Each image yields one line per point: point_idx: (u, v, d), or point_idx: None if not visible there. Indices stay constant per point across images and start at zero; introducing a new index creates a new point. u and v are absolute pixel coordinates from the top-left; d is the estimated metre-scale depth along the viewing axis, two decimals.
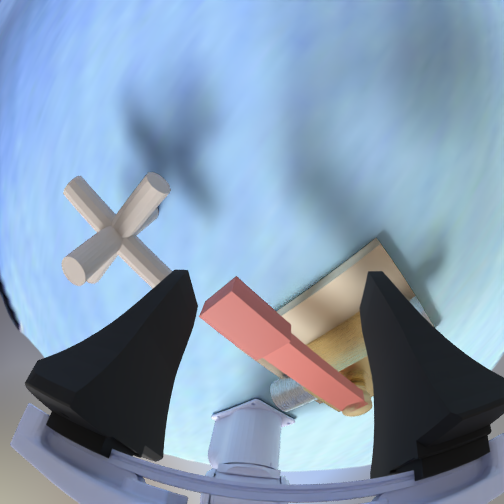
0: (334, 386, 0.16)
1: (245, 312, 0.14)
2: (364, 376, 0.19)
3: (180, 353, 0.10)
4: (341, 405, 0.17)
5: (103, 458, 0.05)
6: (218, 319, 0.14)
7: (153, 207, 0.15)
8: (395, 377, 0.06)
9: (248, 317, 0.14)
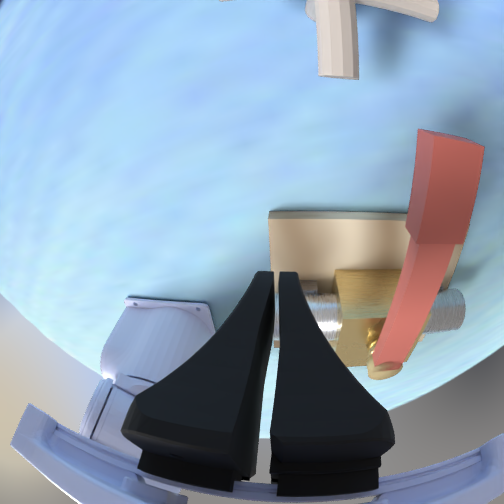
0: (413, 328, 0.12)
1: (472, 177, 0.08)
2: None
3: (267, 360, 0.09)
4: (384, 358, 0.14)
5: (103, 458, 0.05)
6: (447, 159, 0.07)
7: (413, 12, 0.06)
8: None
9: (468, 185, 0.08)
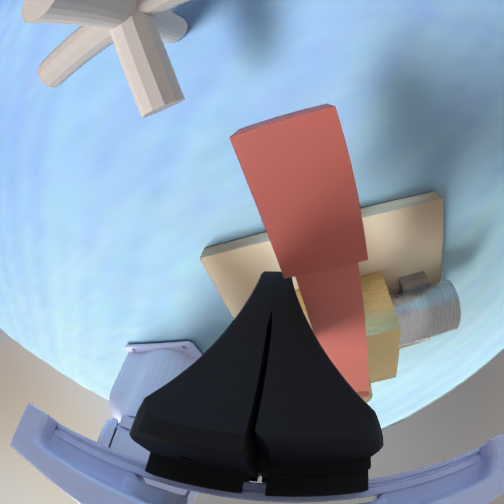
0: (356, 361, 0.11)
1: (333, 164, 0.06)
2: (369, 357, 0.14)
3: None
4: None
5: (103, 458, 0.05)
6: (268, 158, 0.06)
7: None
8: None
9: (332, 177, 0.06)
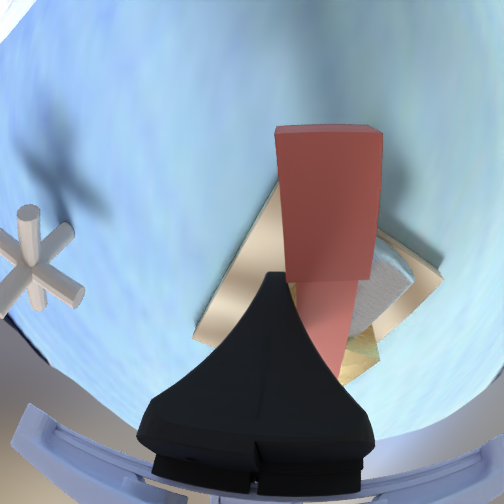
0: None
1: (365, 185, 0.06)
2: None
3: None
4: None
5: (103, 458, 0.05)
6: (307, 164, 0.06)
7: (32, 234, 0.13)
8: None
9: (360, 197, 0.06)
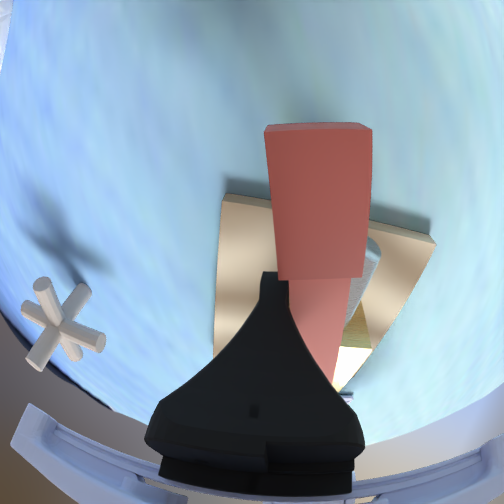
0: (324, 370, 0.11)
1: (355, 182, 0.06)
2: None
3: None
4: None
5: (103, 458, 0.05)
6: (296, 161, 0.06)
7: (50, 300, 0.17)
8: None
9: (350, 194, 0.07)
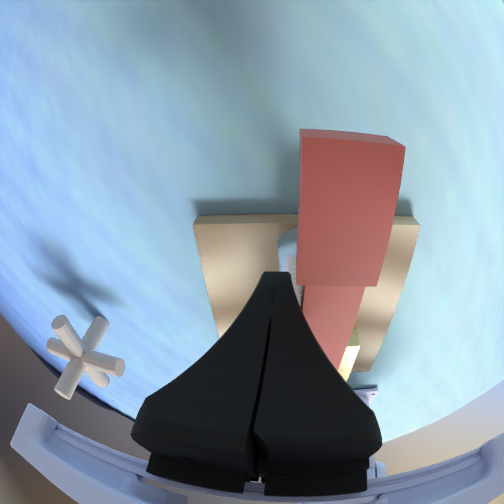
0: None
1: (383, 195, 0.06)
2: None
3: None
4: None
5: (103, 458, 0.05)
6: (331, 170, 0.06)
7: (68, 335, 0.19)
8: None
9: (377, 206, 0.07)
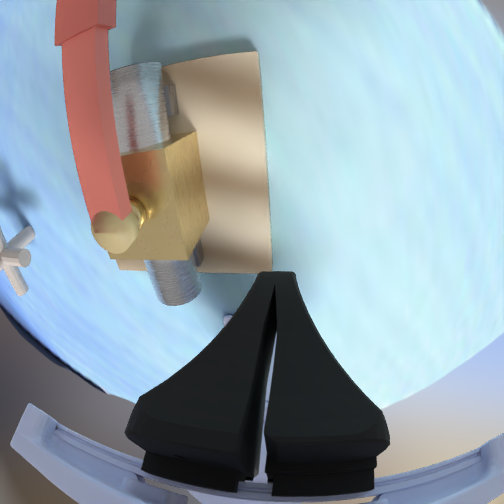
0: (96, 147, 0.10)
1: None
2: None
3: (270, 361, 0.09)
4: (92, 204, 0.11)
5: (103, 458, 0.05)
6: None
7: None
8: None
9: None
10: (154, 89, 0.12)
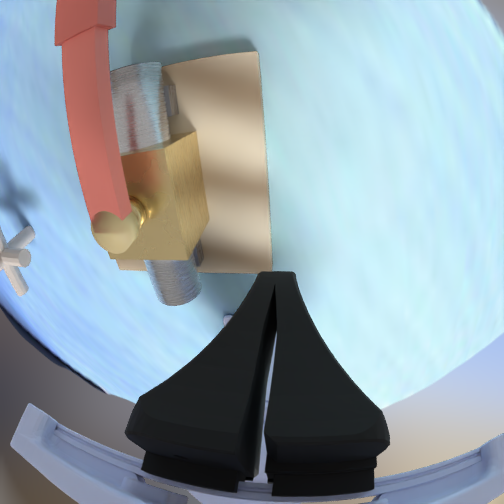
0: (96, 147, 0.10)
1: None
2: None
3: (270, 361, 0.09)
4: (92, 204, 0.11)
5: (103, 458, 0.05)
6: None
7: None
8: None
9: None
10: (154, 89, 0.12)
